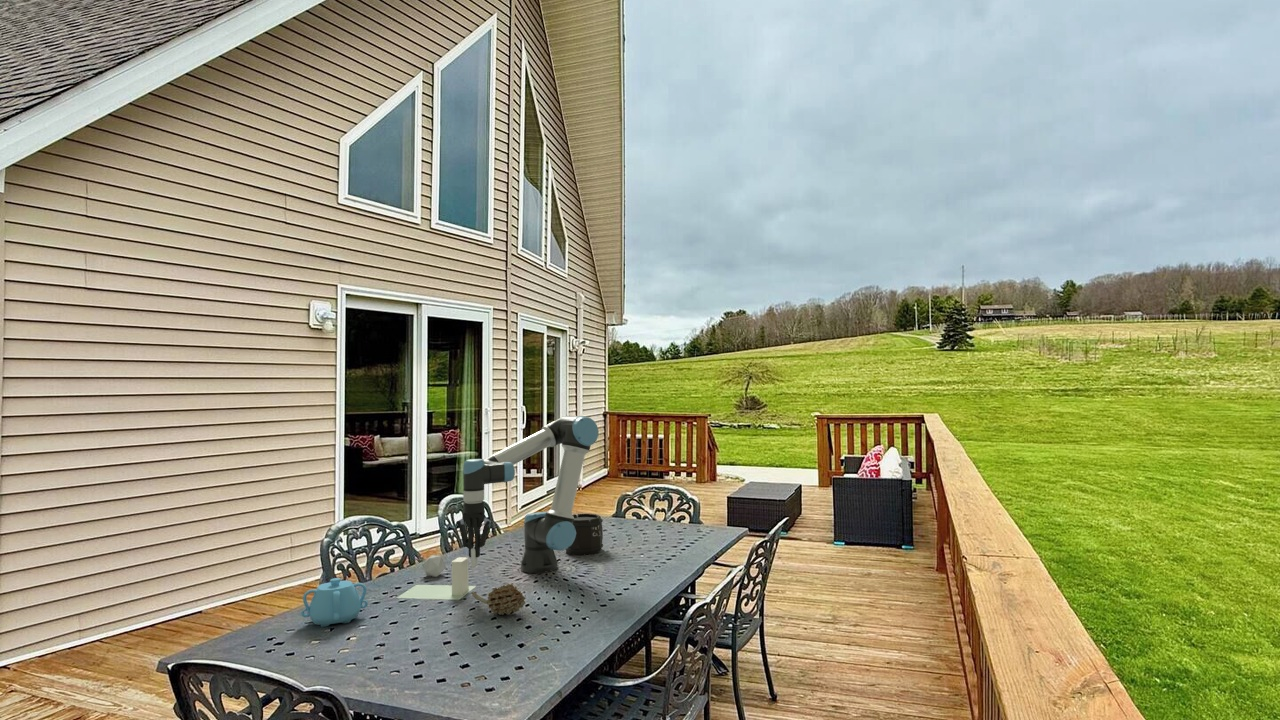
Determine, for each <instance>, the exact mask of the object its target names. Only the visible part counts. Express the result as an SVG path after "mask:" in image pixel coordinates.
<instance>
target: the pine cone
mask: <svg viewBox="0 0 1280 720" xmlns="http://www.w3.org/2000/svg"><path fill="white" fill-rule="evenodd" d="M471 595H472V597H473V598H474V599H476V600H477V601H479V602H481V603H483V604H486V605H487V606H488V609H490V612H491V613H492V614H493V615H495V614H499V615H502V616H503V615H505V614H506V615H508V616H509V615H510V614H512V612H513V613H517V612H519V611H520V609H521V608H522V609H523V607H524V606H525V604H526V601H525V599H526V596H524V595H523V592H522V591H521V590H519V589H518V588H517V586H514V585H513V584H510V583H507V584H506V585H505V584H503V585H501V586H500V587H495V588H494V589H492V591H491V592H489V593H488V596H487V599H485V598H483V597H481V596H479V594H477V593H476V592H475V591H472V592H471Z"/></svg>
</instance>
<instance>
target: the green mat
mask: <svg viewBox="0 0 1280 720" xmlns="http://www.w3.org/2000/svg"><path fill="white" fill-rule="evenodd" d="M476 587H477V585H469V590H468V591H467V592H466V593H464V594H463V595H452V584H450V585H446V584H444V585H443V584H416V585H414V586H412V587H411V588H409V589H407V591H405V592H403V593H402V594H400V595H398V596H396V598H395V599H397V600H398V599H416V600H417V599H418V600H419V599H420V600H455V601H457V600H461V599H463V598H464V597H465V596H466V595H467V594H468V593H470V592H471V591H473V590H474V589H475V588H476Z"/></svg>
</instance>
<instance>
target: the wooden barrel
mask: <svg viewBox="0 0 1280 720" xmlns="http://www.w3.org/2000/svg"><path fill="white" fill-rule="evenodd" d="M572 515H573V517H574V521H573V525H574V527H575V529H576V537H575V540H574V542H573V543H572V545H571V546H570V547H568V548H567V549H565V552H566V554H568V555H570V556H576V557H577V556H578V557H581V556H582V557H583V556H592V555H596V554H599V553H600V552H601V550H602V549H603V547H604V544H603V538H604V535H603V522H604V520H603V519H602V518H601V515H599V514H596V513H577V514H576V513H575V514H574V513H573V514H572Z"/></svg>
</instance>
